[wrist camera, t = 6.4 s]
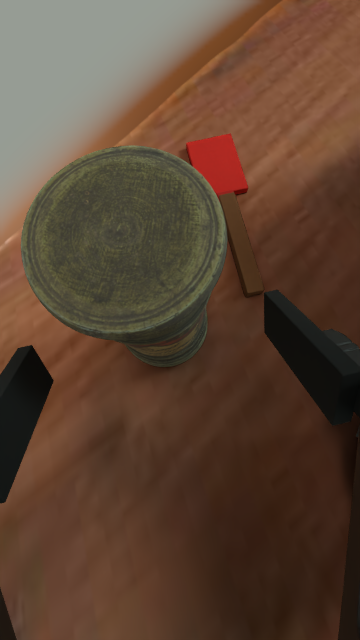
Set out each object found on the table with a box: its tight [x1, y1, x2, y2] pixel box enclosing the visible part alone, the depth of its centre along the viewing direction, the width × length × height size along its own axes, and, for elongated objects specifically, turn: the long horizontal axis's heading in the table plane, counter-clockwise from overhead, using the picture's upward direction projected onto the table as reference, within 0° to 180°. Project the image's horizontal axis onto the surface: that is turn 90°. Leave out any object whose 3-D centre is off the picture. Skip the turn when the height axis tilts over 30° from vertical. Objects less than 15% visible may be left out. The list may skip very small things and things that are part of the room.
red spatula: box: [186, 134, 264, 297], centre depth 30 cm, size 20×6×1 cm, turn 12°
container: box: [21, 146, 227, 367], centre depth 19 cm, size 9×9×18 cm
